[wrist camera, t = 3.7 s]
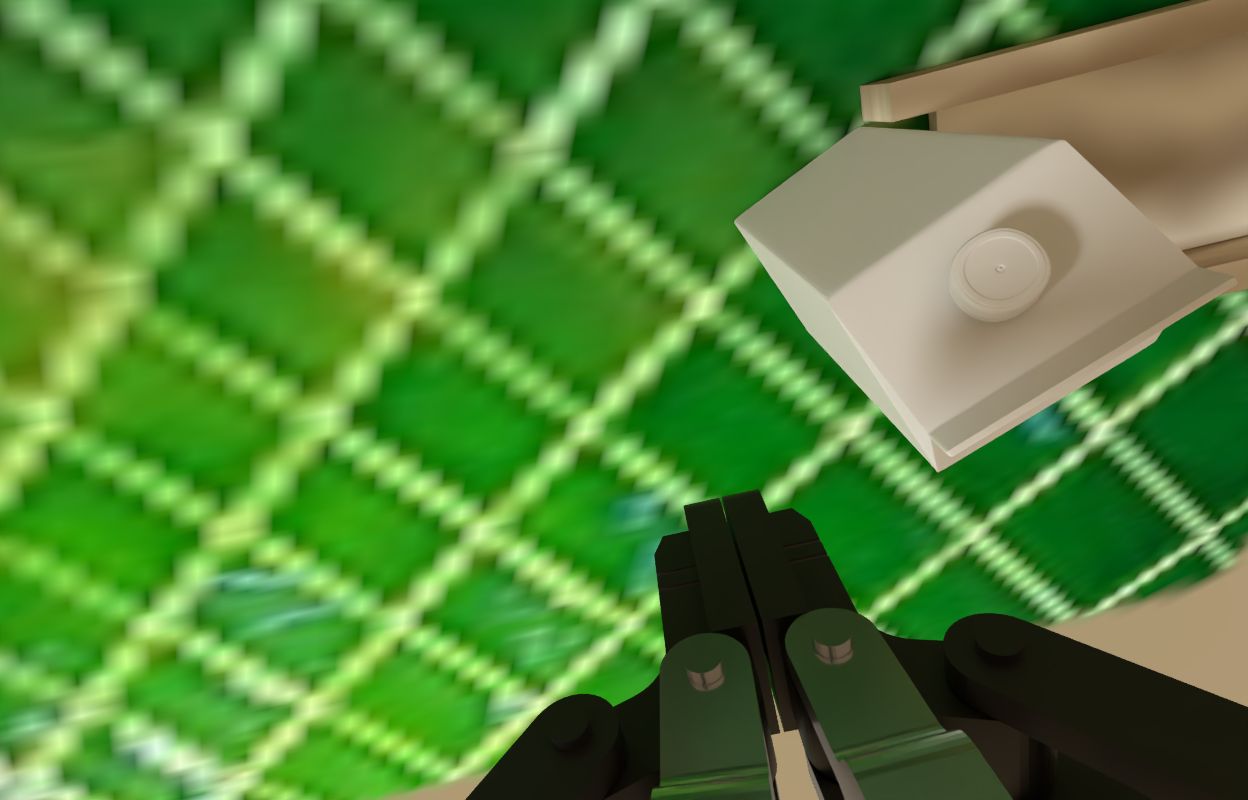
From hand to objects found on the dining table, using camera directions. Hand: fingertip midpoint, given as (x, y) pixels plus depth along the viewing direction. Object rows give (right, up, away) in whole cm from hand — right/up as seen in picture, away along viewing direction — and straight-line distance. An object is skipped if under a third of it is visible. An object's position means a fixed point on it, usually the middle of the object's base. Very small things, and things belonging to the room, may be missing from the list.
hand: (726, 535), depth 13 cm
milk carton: (+8, +11, +20) cm, 24 cm away
